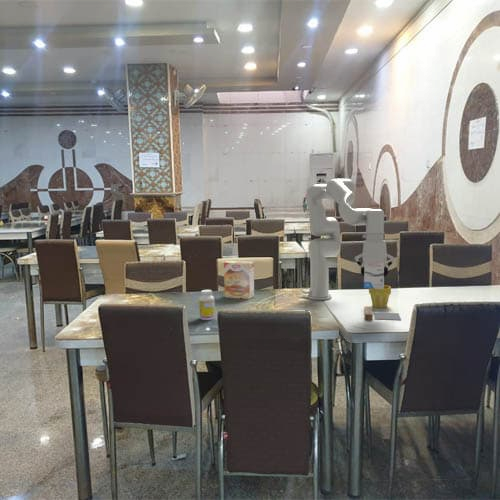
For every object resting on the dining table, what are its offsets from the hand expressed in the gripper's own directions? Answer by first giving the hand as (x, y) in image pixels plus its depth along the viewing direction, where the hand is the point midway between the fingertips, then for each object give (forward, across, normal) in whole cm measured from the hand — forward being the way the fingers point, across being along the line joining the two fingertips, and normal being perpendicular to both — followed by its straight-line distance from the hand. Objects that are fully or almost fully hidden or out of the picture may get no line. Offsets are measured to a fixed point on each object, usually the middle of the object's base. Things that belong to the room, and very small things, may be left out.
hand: (374, 276), depth 202 cm
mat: (+18, +6, 0) cm, 19 cm away
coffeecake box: (+18, -69, +30) cm, 78 cm away
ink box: (+6, 0, 0) cm, 6 cm away
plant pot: (+18, +4, +19) cm, 27 cm away
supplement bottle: (+18, -73, -15) cm, 77 cm away
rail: (+18, -2, 0) cm, 18 cm away
